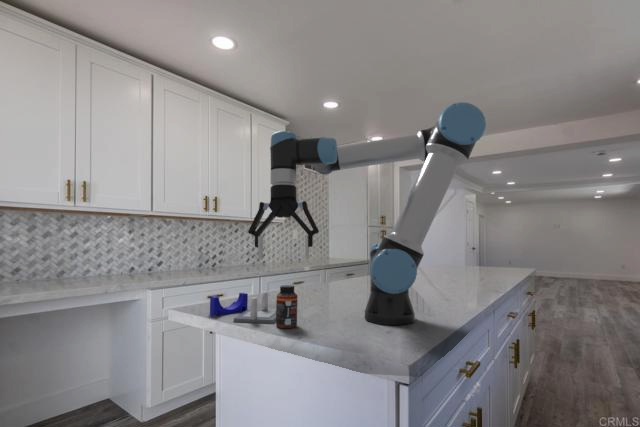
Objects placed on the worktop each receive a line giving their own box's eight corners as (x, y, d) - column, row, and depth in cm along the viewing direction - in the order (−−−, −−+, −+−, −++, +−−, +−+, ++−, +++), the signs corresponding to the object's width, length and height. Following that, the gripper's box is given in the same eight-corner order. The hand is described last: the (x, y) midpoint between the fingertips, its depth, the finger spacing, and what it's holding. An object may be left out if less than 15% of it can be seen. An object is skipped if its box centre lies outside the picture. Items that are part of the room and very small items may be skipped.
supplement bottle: (293, 329, 93) (294, 287, 94) (272, 328, 95) (273, 286, 95) (299, 324, 99) (299, 284, 100) (279, 323, 100) (280, 284, 101)
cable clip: (240, 309, 120) (240, 292, 120) (247, 311, 116) (247, 293, 117) (207, 314, 111) (208, 295, 112) (213, 317, 108) (214, 297, 109)
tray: (283, 314, 112) (283, 292, 113) (272, 323, 99) (273, 299, 100) (248, 312, 114) (248, 291, 114) (232, 322, 101) (233, 298, 101)
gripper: (326, 186, 103) (327, 257, 101) (245, 188, 105) (245, 258, 103) (325, 182, 95) (326, 259, 94) (237, 184, 97) (237, 259, 96)
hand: (283, 258), depth 99 cm, fingers open, 13 cm apart
